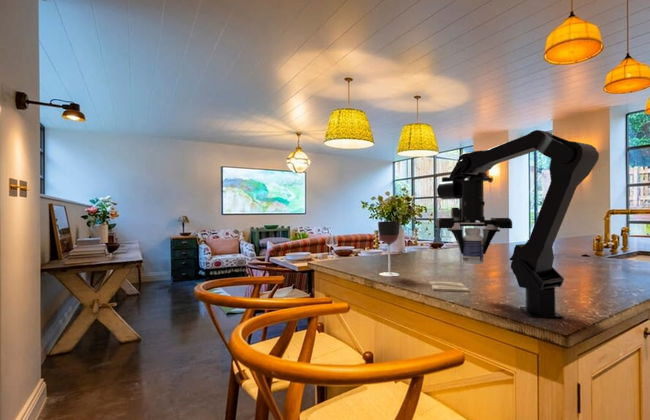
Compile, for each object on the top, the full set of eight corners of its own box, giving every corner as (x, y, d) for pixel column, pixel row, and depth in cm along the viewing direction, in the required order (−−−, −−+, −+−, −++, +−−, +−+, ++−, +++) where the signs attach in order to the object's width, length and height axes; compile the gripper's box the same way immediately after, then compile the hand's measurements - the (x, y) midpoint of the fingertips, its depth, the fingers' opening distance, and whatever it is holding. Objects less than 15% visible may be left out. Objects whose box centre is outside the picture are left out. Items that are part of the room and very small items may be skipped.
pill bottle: (486, 264, 87) (485, 228, 87) (464, 264, 88) (464, 228, 88) (480, 261, 92) (480, 227, 92) (460, 261, 93) (460, 227, 93)
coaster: (469, 291, 95) (469, 289, 95) (433, 290, 97) (433, 288, 97) (461, 284, 105) (461, 282, 105) (429, 283, 106) (429, 281, 106)
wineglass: (403, 273, 124) (402, 221, 124) (395, 277, 117) (394, 222, 117) (383, 271, 129) (383, 221, 129) (375, 275, 121) (374, 222, 121)
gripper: (498, 198, 96) (499, 251, 96) (433, 199, 100) (433, 250, 100) (512, 197, 85) (513, 256, 85) (439, 198, 89) (439, 254, 89)
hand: (472, 253), depth 90 cm, fingers closed on pill bottle, 5 cm apart
